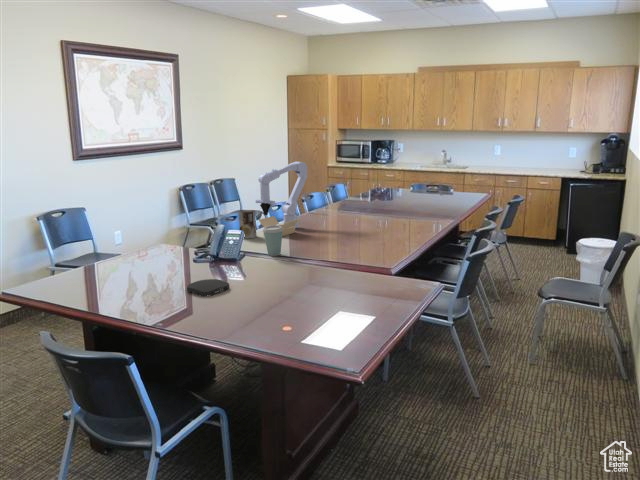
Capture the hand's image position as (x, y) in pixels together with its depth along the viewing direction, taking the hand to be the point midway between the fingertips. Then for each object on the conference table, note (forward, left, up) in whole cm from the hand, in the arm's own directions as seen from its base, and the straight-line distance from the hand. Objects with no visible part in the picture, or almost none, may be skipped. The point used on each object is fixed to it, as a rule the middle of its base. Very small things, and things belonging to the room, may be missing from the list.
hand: (265, 215), depth 336 cm
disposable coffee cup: (+46, +42, -11) cm, 63 cm away
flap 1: (+3, +7, -6) cm, 10 cm away
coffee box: (+20, +2, -11) cm, 23 cm away
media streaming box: (+107, +55, -11) cm, 121 cm away
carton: (+3, +13, -10) cm, 17 cm away
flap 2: (+3, +19, -6) cm, 20 cm away
